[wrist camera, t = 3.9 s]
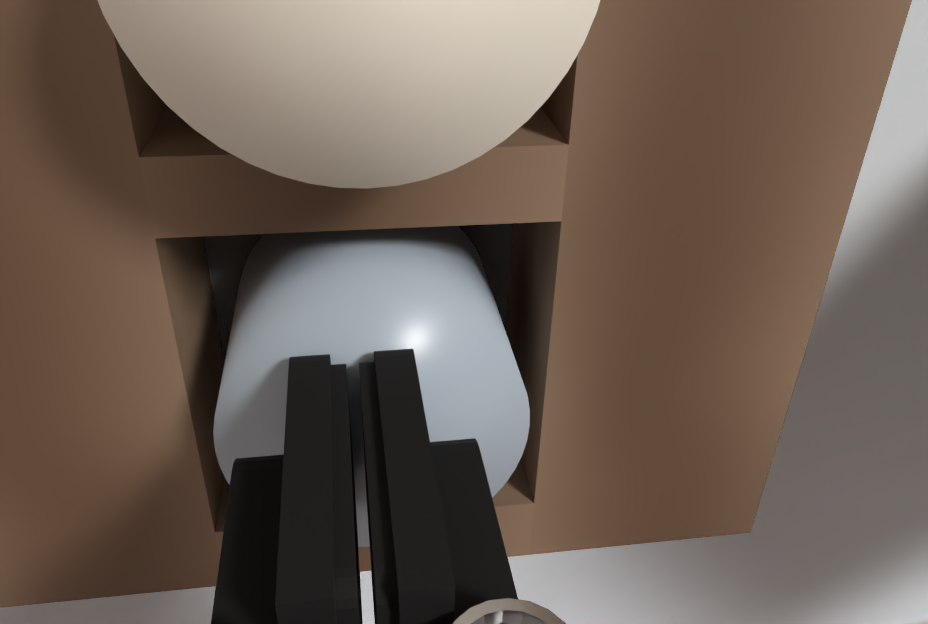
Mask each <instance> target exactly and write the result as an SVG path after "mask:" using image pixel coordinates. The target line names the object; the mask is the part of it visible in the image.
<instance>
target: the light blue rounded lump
mask: <svg viewBox="0 0 928 624" xmlns="http://www.w3.org/2000/svg"><path fill="white" fill-rule="evenodd" d="M399 349H413V350H414V355H415V360H416V366H417V372H418V377H419V383H420V389H421V394H422V400H423V406H424V411H425V417H426V423H427V428H428V434H429V440H430V442H437V441H449V440H461V439H473V438H475V439H476V440H477V442H478V445H479V448H480V452H481V456H482V460H483V464H484V467H485V471H486V475H487V479H488V483H489V487H490V491H491V495H492V498H493V497H494V496H495V495H496V494H497V492H498V491H499V490H500V489H501V488H502V487H503V486H504V485H505V483H506V482H507V481H508V479H509V478H510V476H511V475H512V473H513V472H514V470H515V469H516V467H517V465H518V463H519V461H520V459H521V457H522V455H523V452H524V449H525V446H526V443H527V439H528V433H529V427H530V408H529V402H528V396H527V392H526V389H525V386H524V383H523V380H522V378H521V375H520V372H519V369H518V366H517V363H516V360H515V357H514V354H513V352H512V349H511V346H510V343H509V340H508V337H507V334H506V331H505V328H504V326H503V323H502V320H501V317H500V314H499V311H498V308H497V305H496V302H495V300H494V297H493V294H492V291H491V288H490V285H489V282H488V279H487V276H486V274H485V271H484V268H483V265H482V262H481V259H480V257H479V255H478V253H477V251H476V249H475V247H474V245H473V244H472V242H471V241H470V240H469V238H468V237H467V236H466V234H465V233H464V232H463V231H462V230H461V229H460V228H459V227H458V226H438V227H415V228H391V229H367V230H344V231H320V232H296V233H273V234H264V235H263V236H262V237H261V238H260V239H259V241H258V242H257V243H256V245H255V247H254V248H253V250H252V251H251V253H250V255H249V257H248V259H247V262H246V264H245V266H244V269H243V272H242V276H241V280H240V285H239V290H238V295H237V301H236V306H235V311H234V316H233V322H232V327H231V332H230V338H229V343H228V348H227V353H226V359H225V364H224V369H223V374H222V380H221V385H220V390H219V396H218V401H217V406H216V411H215V417H214V429H213V436H214V447H215V452H216V456H217V459H218V463H219V466H220V468H221V470H222V472H223V474H224V477H225V479H226V481H227V482H228V483H229V485H230V480H231V472H232V467H233V462H234V461H235V459H237V458H248V457H260V456H272V455H284V438H285V421H286V403H287V385H288V368H289V358H290V357H296V356H310V355H325V354H330V358H331V365H334V364H346V366H347V380H348V395H349V410H350V425H351V440H352V454H353V469H354V484H355V499H356V514H357V532H358V547H369V546H370V543H369V529H368V513H367V496H366V479H365V461H364V444H363V426H362V409H361V391H360V374H359V363H363V362H374V351H385V350H399Z"/></svg>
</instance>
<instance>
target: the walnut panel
mask: <svg viewBox="0 0 928 624" xmlns="http://www.w3.org/2000/svg"><path fill="white" fill-rule="evenodd" d="M911 1H912V0H600V3H599V6H598V10H597V13H596V15H595V18H594V20H593V23H592V25H591V27H590V30H589V32H588V35H587V37H586V39H585V42H584V44H583V46H582V47H581V49H580V51H579V53H578V55H577V56H576V58H575V60H574V62H573V63H572V65H571V67H570V69H569V71H568V72H567V74H566V75H565V76H564V78H563V79H562V81H561V82H560V83H559V85H558V86H557V87H556V89H555V90H554V92H553V93H552V94H551V96H550V97H549V98H548V99H547V100H546V102H545V103H544V104H543V105H542V106H541V107H540V108H539V109H538V110H537V111H536V112H535V113H534V114H533V116H532V117H531V118H530V119H529V120H528V121H527V122H526V123H524V124H523V125H522V126H521V127H520V128H518V129H517V130H516V131H515V132H514V133H513V134H511V135H510V136H509V137H508V138H507V139H506V140H504V141H503V142H501V143H500V144H498V145H497V146H495V147H494V148H492V149H491V150H489V151H488V152H486V153H485V154H483V155H482V156H480V157H478V158H476V159H474V160H472V161H470V162H468V163H466V164H464V165H462V166H460V167H458V168H456V169H454V170H451V171H448V172H446V173H443V174H440V175H437V176H434V177H431V178H429V179H426V180H421V181H417V182H412V183H408V184H403V185H399V186H390V187H379V188H369V189H364V188H336V187H329V186H322V185H315V184H309V183H305V182H301V181H297V180H294V179H290V178H286V177H283V176H279V175H276V174H274V173H271V172H269V171H266V170H264V169H261V168H259V167H256V166H254V165H251V164H249V163H247V162H245V161H243V160H242V159H240V158H238V157H236V156H234V155H232V154H231V153H229V152H227V151H225V150H223V149H221V148H220V147H218V146H217V145H215V144H214V143H213V142H211V141H210V140H208V139H207V138H206V137H204V136H203V135H201V134H200V133H198V132H197V131H196V130H194V129H193V128H192V127H191V126H189V125H188V124H187V123H186V122H185V121H184V120H183V119H182V118H180V117H179V116H178V115H177V114H176V113H175V112H174V111H173V110H171V109H170V108H169V107H168V106H167V105H166V104H165V103H164V102H163V100H162V99H161V98H160V97H159V96H158V95H157V94H156V93H155V92H154V90H153V89H152V88H151V87H150V86H149V85H148V84H147V83H146V81H145V80H144V79H143V78H142V76H141V75H140V74H139V72H138V71H137V69H136V68H135V67H134V65H133V64H132V62H131V61H130V60H129V58H128V57H127V55H126V54H125V52H124V51H123V50H122V48H121V46H120V44H119V43H118V41H117V39H116V37H115V35H114V34H113V32H112V30H111V28H110V26H109V24H108V23H107V21H106V19H105V17H104V15H103V13H102V10H101V8H100V5H99V3H98V1H97V0H0V608H1V607H11V606H21V605H31V604H40V603H50V602H60V601H70V600H80V599H90V598H100V597H110V596H120V595H130V594H140V593H150V592H160V591H170V590H180V589H190V588H200V587H210V586H216V583H217V576H218V569H219V561H220V554H221V546H222V539H223V531H224V524H225V517H226V509H227V502H228V494H229V487H230V485H229V483H228V482H227V481H226V479H225V477H224V474H223V472H222V470H221V468H220V466H219V463H218V459H217V456H216V452H215V447H214V436H213V429H214V417H215V411H216V406H217V401H218V396H219V390H220V385H221V380H222V374H223V369H224V360H223V354H222V348H221V342H220V336H219V330H218V324H217V318H216V313H215V307H214V301H213V295H212V289H211V283H210V277H209V271H208V265H207V259H206V253H205V247H204V241H203V236H225V235H249V234H273V233H296V232H320V231H344V230H367V229H391V228H415V227H438V226H462V225H486V224H509V223H513V232H512V249H511V265H510V281H509V298H508V314H507V330H506V334H507V337H508V340H509V343H510V346H511V349H512V352H513V354H514V357H515V360H516V363H517V366H518V369H519V372H520V375H521V378H522V380H523V383H524V386H525V389H526V392H527V396H528V402H529V408H530V427H529V433H528V439H527V443H526V446H525V449H524V452H523V455H522V457H521V459H520V461H519V463H518V465H517V467H516V469H515V470H514V472H513V473H512V475H511V476H510V478H509V479H508V481H507V482H506V483H505V485H504V486H503V487H502V488H501V489H500V490H499V491H498V492H497V494H496V495H495V496H494V497H493V498H492V499H493V503H494V507H495V511H496V515H497V519H498V523H499V527H500V531H501V534H502V538H503V542H504V546H505V550H506V554H507V557H510V556H520V555H530V554H540V553H550V552H560V551H570V550H580V549H590V548H600V547H610V546H620V545H630V544H640V543H650V542H660V541H670V540H680V539H690V538H700V537H710V536H720V535H730V534H740V533H750V532H751V528H752V525H753V522H754V518H755V515H756V512H757V509H758V505H759V502H760V499H761V495H762V492H763V489H764V485H765V482H766V479H767V476H768V472H769V469H770V466H771V462H772V459H773V456H774V453H775V449H776V446H777V443H778V439H779V436H780V433H781V429H782V426H783V423H784V420H785V416H786V413H787V410H788V406H789V403H790V400H791V397H792V393H793V390H794V387H795V383H796V380H797V377H798V373H799V370H800V367H801V364H802V360H803V357H804V354H805V350H806V347H807V344H808V341H809V337H810V334H811V331H812V327H813V324H814V321H815V317H816V314H817V311H818V308H819V304H820V301H821V298H822V294H823V291H824V288H825V284H826V281H827V278H828V275H829V271H830V268H831V265H832V261H833V258H834V255H835V252H836V248H837V245H838V242H839V238H840V235H841V232H842V228H843V225H844V222H845V219H846V215H847V212H848V209H849V205H850V202H851V199H852V196H853V192H854V189H855V186H856V182H857V179H858V176H859V172H860V169H861V166H862V163H863V159H864V156H865V153H866V149H867V146H868V143H869V140H870V136H871V133H872V130H873V126H874V123H875V120H876V116H877V113H878V110H879V107H880V103H881V100H882V97H883V93H884V90H885V87H886V84H887V80H888V77H889V74H890V70H891V67H892V64H893V60H894V57H895V54H896V51H897V47H898V44H899V41H900V37H901V34H902V31H903V28H904V24H905V21H906V18H907V14H908V11H909V8H910V4H911ZM358 550H359V569H360V571H370V570H371V558H370V546H369V547H358Z"/></svg>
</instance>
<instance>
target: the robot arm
mask: <svg viewBox="0 0 928 624" xmlns="http://www.w3.org/2000/svg"><path fill="white" fill-rule="evenodd" d="M359 374H360V391H361V409H362V426H363V444H364V461H365V479H366V496H367V513H368V529H369V543H370V558H371V572H372V587H373V601H374V616H375V624H566V623H565V622H563V621H562V620H561V619H560V618H559V617H557V616H556V615H555V614H554V613H552V612H551V611H550V610H548V609H546V608H544V607H542V606H539V605H537V604H535V603H532V602H530V601H524V600H518V598H517V594H516V590H515V586H514V582H513V578H512V574H511V570H510V566H509V562H508V558H507V554H506V550H505V546H504V542H503V538H502V534H501V531H500V527H499V523H498V519H497V515H496V511H495V507H494V503H493V499H492V495H491V491H490V487H489V483H488V479H487V475H486V471H485V467H484V464H483V460H482V456H481V452H480V448H479V445H478V442H477V440H476V439H475V438H473V439H461V440H449V441H437V442H430V440H429V434H428V428H427V423H426V417H425V411H424V406H423V400H422V394H421V389H420V383H419V377H418V372H417V366H416V360H415V355H414V350H413V349H399V350H385V351H374V362H363V363H359ZM211 624H362V607H361V588H360V569H359V550H358V532H357V514H356V499H355V484H354V469H353V454H352V440H351V425H350V410H349V395H348V380H347V366H346V364H334V365H331V358H330V354H325V355H310V356H296V357H290V358H289V368H288V385H287V403H286V421H285V438H284V455H272V456H260V457H248V458H237V459H235V461H234V462H233V467H232V472H231V480H230V487H229V494H228V502H227V509H226V517H225V524H224V531H223V539H222V546H221V554H220V561H219V569H218V576H217V583H216V591H215V598H214V606H213V613H212V620H211Z"/></svg>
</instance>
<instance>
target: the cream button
mask: <svg viewBox="0 0 928 624" xmlns="http://www.w3.org/2000/svg"><path fill="white" fill-rule="evenodd" d="M97 1H98V3H99V5H100V8H101V10H102V13H103V15H104V17H105V19H106V21H107V23H108V24H109V26H110V28H111V30H112V32H113V34H114V35H115V37H116V39H117V41H118V43H119V44H120V46H121V48H122V50H123V51H124V52H125V54H126V55H127V57H128V58H129V60H130V61H131V62H132V64H133V65H134V67H135V68H136V69H137V71H138V72H139V74H140V75H141V76H142V78H143V79H144V80H145V81H146V83H147V84H148V85H149V86H150V87H151V88H152V89H153V90H154V92H155V93H156V94H157V95H158V96H159V97H160V98H161V99H162V100H163V102H164V103H165V104H166V105H167V106H168V107H169V108H170V109H171V110H173V111H174V112H175V113H176V114H177V115H178V116H179V117H180V118H182V119H183V120H184V121H185V122H186V123H187V124H188V125H189V126H191V127H192V128H193V129H194V130H196V131H197V132H198V133H200V134H201V135H203V136H204V137H206V138H207V139H208V140H210V141H211V142H213V143H214V144H215V145H217V146H218V147H220V148H221V149H223V150H225V151H227V152H229V153H231V154H232V155H234V156H236V157H238V158H240V159H242V160H243V161H245V162H247V163H249V164H251V165H254V166H256V167H259V168H261V169H264V170H266V171H269V172H271V173H274V174H276V175H279V176H283V177H286V178H290V179H294V180H297V181H301V182H305V183H309V184H315V185H322V186H329V187H336V188H364V189H369V188H379V187H390V186H399V185H403V184H408V183H412V182H417V181H421V180H426V179H429V178H431V177H434V176H437V175H440V174H443V173H446V172H448V171H451V170H454V169H456V168H458V167H460V166H462V165H464V164H466V163H468V162H470V161H472V160H474V159H476V158H478V157H480V156H482V155H483V154H485V153H486V152H488V151H489V150H491V149H492V148H494V147H495V146H497V145H498V144H500V143H501V142H503V141H504V140H506V139H507V138H508V137H509V136H510V135H511V134H513V133H514V132H515V131H516V130H517V129H518V128H520V127H521V126H522V125H523V124H524V123H526V122H527V121H528V120H529V119H530V118H531V117H532V116H533V114H534V113H535V112H536V111H537V110H538V109H539V108H540V107H541V106H542V105H543V104H544V103H545V102H546V100H547V99H548V98H549V97H550V96H551V94H552V93H553V92H554V90H555V89H556V87H557V86H558V85H559V83H560V82H561V81H562V79H563V78H564V76H565V75H566V74H567V72H568V71H569V69H570V67H571V65H572V63H573V62H574V60H575V58H576V56H577V55H578V53H579V51H580V49H581V47H582V46H583V44H584V42H585V39H586V37H587V35H588V32H589V30H590V27H591V25H592V23H593V20H594V18H595V15H596V13H597V10H598V6H599V3H600V0H97Z"/></svg>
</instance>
